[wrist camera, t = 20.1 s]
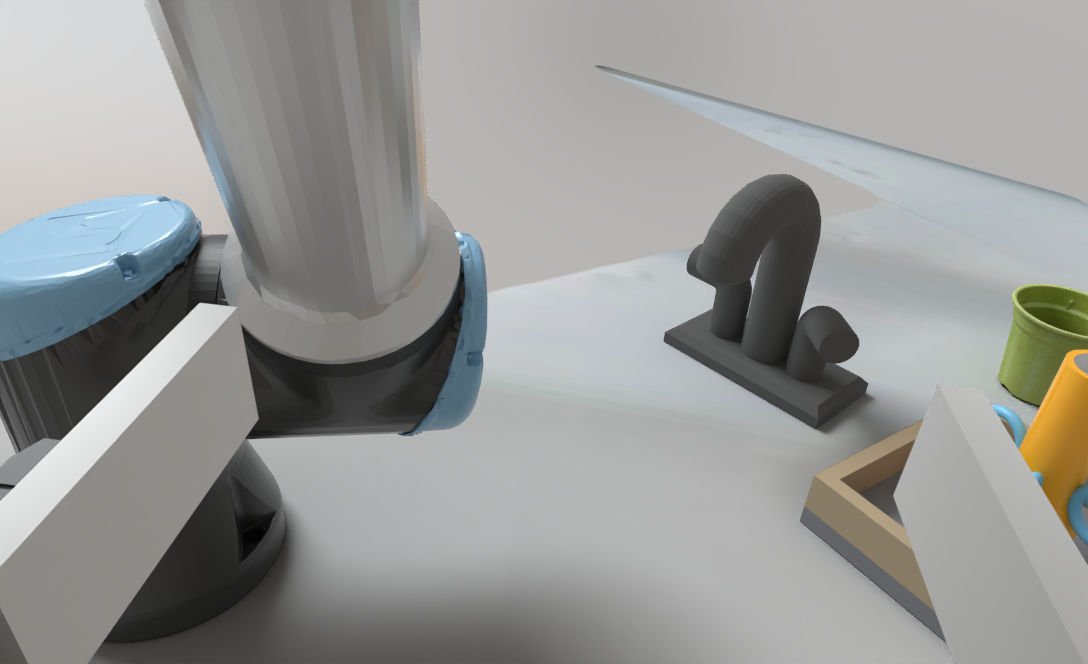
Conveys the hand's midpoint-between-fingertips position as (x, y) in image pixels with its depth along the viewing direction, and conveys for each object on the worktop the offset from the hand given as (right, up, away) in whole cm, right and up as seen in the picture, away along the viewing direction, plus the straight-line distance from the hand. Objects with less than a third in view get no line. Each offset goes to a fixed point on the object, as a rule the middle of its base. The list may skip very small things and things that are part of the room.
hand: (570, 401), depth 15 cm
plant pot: (+45, -4, +58) cm, 74 cm away
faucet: (+17, -3, +57) cm, 59 cm away
